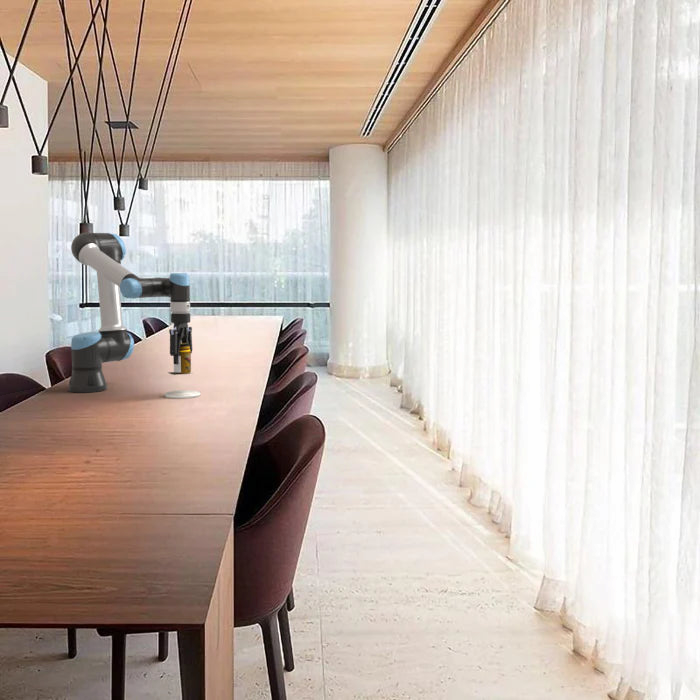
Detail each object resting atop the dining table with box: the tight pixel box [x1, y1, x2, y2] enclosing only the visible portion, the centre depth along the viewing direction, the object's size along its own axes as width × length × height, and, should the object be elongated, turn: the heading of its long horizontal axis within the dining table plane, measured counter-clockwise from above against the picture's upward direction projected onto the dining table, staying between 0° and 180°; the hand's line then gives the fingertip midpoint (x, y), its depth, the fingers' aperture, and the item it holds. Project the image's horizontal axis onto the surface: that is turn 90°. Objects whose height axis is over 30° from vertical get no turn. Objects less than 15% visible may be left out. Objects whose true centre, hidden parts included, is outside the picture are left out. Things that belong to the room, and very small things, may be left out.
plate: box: [163, 389, 201, 400], centre depth 310 cm, size 14×14×1 cm
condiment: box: [167, 342, 195, 376], centre depth 308 cm, size 7×8×12 cm
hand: (181, 371), depth 309 cm, fingers closed on condiment, 6 cm apart
